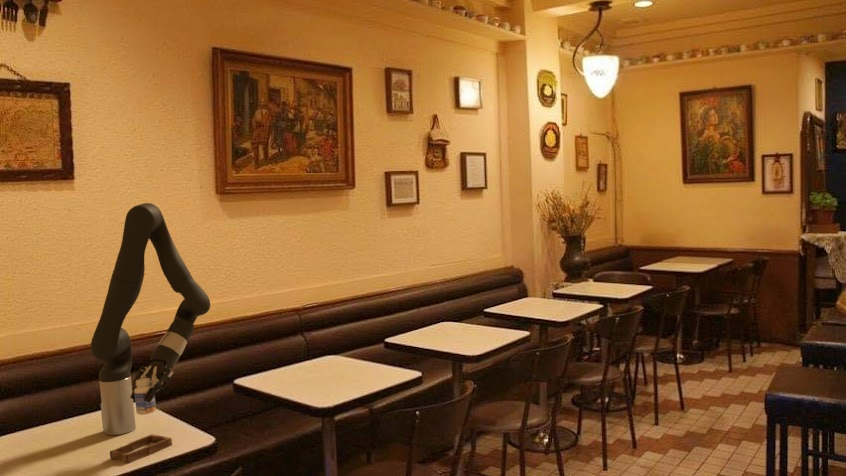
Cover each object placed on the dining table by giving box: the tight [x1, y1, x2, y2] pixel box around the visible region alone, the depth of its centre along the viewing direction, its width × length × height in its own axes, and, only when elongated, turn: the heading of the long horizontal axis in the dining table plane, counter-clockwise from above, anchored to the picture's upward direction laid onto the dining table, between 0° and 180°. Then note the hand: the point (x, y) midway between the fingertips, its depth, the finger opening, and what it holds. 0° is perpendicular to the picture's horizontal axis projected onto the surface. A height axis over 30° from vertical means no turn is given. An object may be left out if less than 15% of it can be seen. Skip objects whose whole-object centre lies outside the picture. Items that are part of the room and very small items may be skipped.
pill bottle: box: [133, 377, 157, 416], centre depth 206 cm, size 5×5×10 cm
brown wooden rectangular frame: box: [109, 433, 173, 464], centre depth 205 cm, size 9×15×2 cm, turn 149°
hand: (139, 399), depth 204 cm, fingers closed on pill bottle, 5 cm apart
